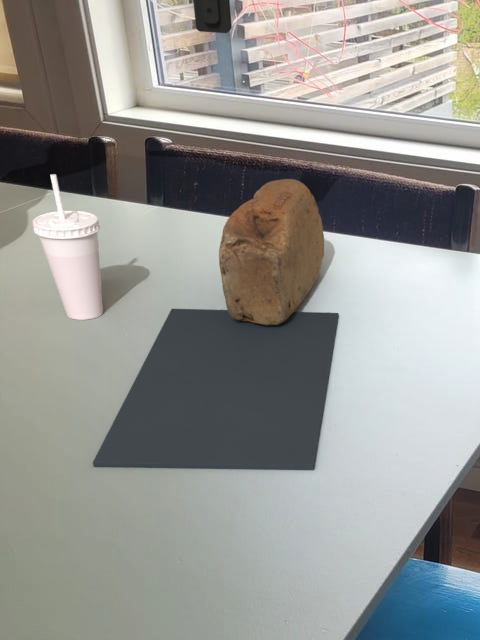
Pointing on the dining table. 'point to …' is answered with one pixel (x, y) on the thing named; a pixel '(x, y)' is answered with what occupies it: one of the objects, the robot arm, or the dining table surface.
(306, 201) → the block
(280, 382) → the mat
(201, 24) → the robot arm
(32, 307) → the dining table surface
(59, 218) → the smoothie
